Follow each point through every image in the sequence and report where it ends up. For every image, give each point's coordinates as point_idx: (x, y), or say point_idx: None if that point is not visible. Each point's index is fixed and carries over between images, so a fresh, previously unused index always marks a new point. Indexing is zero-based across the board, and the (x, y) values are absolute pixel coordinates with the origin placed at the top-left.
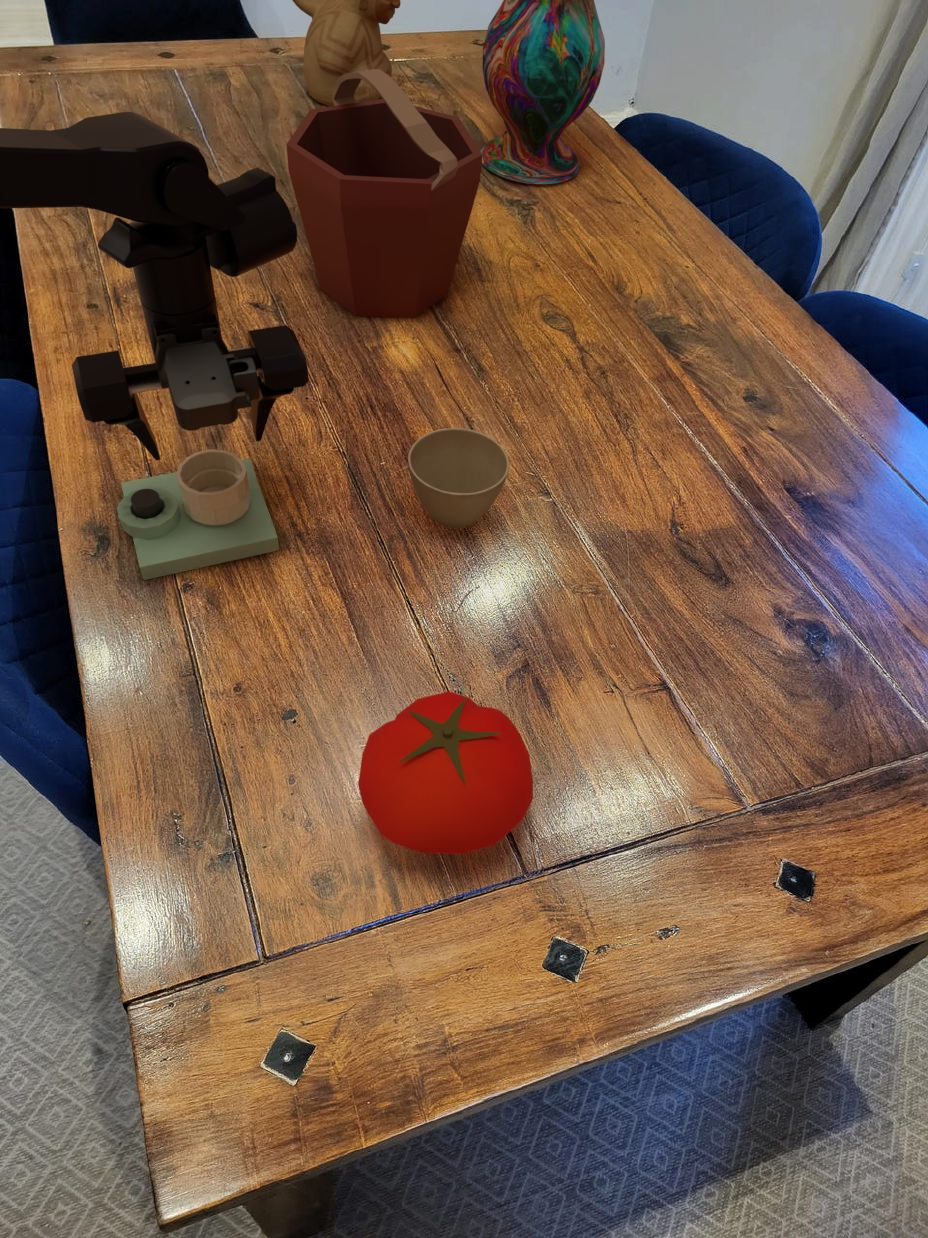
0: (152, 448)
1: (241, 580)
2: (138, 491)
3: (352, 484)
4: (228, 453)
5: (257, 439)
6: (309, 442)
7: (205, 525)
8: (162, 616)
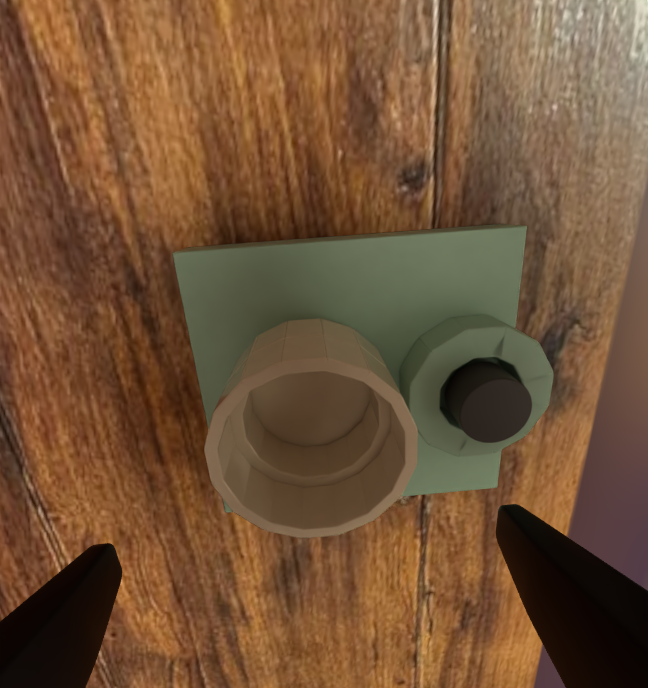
0: (572, 558)
1: (287, 167)
2: (505, 436)
3: (10, 417)
4: (254, 517)
5: (98, 551)
6: (109, 538)
7: None
8: (489, 89)
